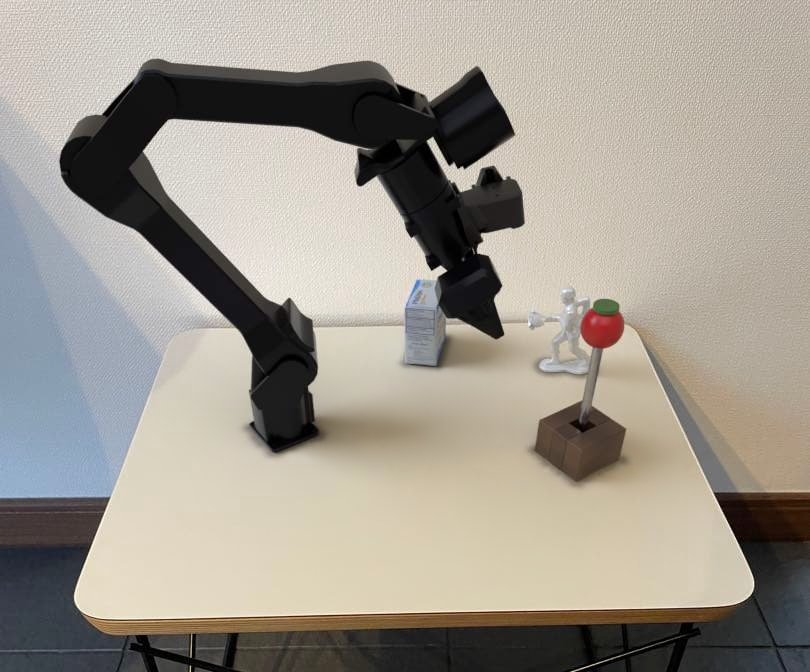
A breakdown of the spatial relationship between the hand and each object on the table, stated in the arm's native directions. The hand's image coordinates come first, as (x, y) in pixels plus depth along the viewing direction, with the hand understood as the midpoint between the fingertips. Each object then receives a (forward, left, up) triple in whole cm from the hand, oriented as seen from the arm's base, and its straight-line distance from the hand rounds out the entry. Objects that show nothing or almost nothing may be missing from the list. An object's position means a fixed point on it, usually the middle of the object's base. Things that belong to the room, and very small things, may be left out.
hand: (493, 315), depth 85 cm
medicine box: (+3, +17, -14) cm, 23 cm away
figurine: (+15, +3, -14) cm, 21 cm away
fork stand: (+4, -12, -14) cm, 19 cm away
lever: (+4, -12, -14) cm, 19 cm away
